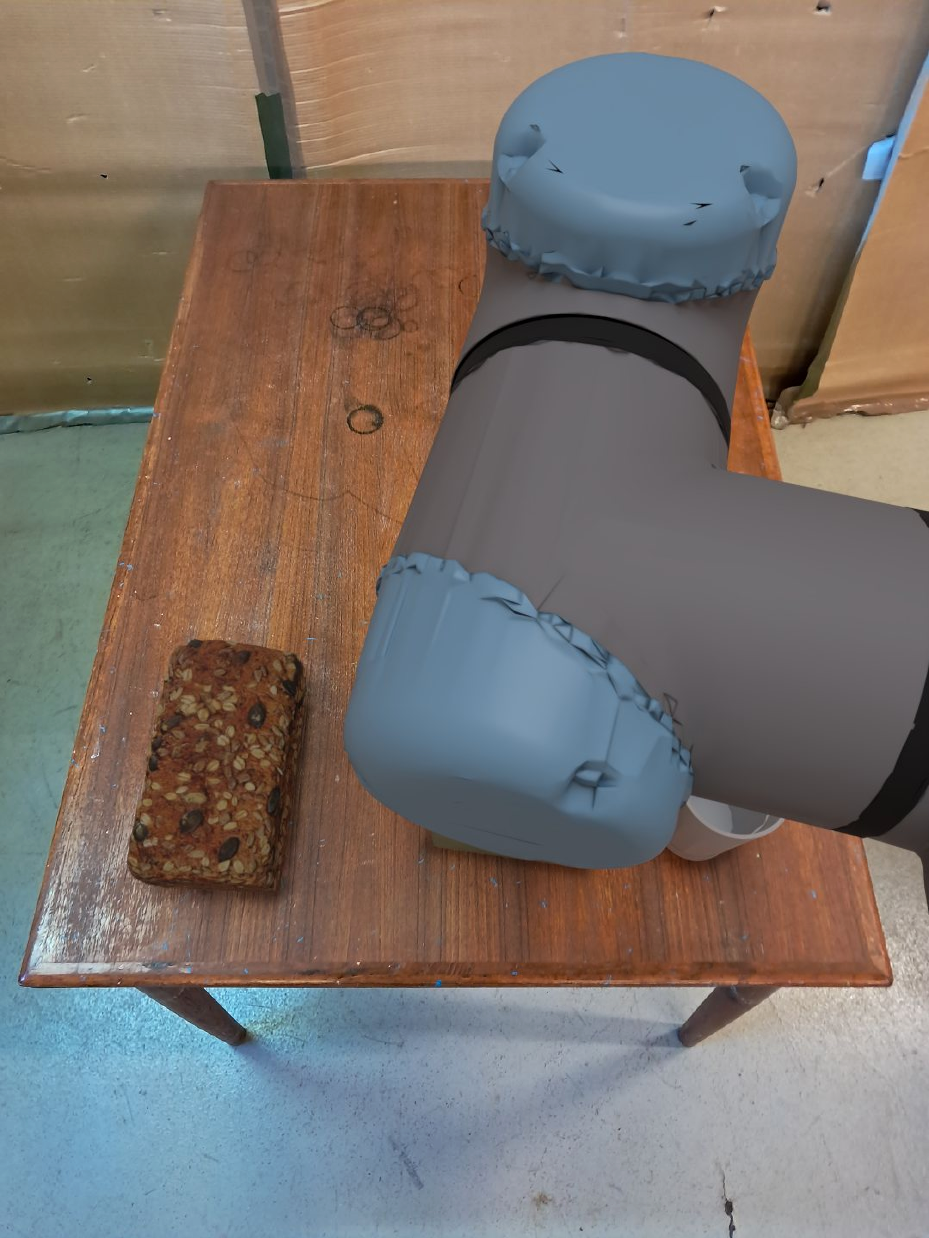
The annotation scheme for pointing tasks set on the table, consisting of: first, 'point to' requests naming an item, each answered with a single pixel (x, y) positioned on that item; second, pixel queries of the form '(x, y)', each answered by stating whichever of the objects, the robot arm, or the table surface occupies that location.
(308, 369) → the table surface
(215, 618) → the table surface
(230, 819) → the bread
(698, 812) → the cup
